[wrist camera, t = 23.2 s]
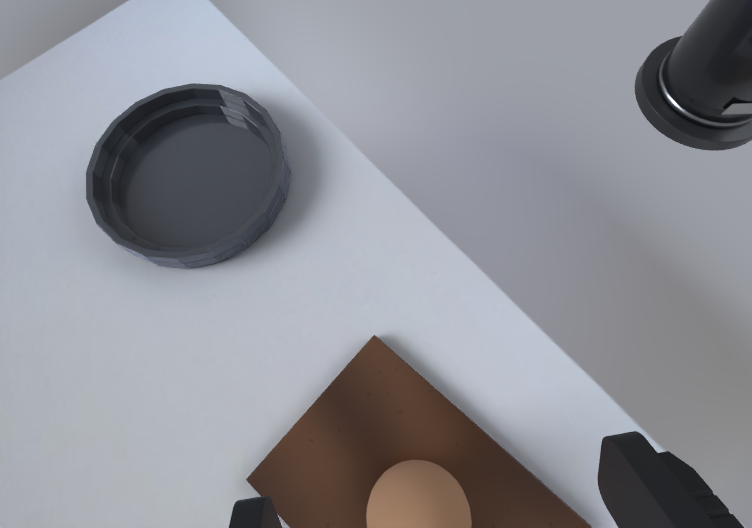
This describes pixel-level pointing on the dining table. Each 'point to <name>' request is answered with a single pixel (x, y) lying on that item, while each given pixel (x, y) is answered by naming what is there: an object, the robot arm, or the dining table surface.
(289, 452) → the board
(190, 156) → the pan
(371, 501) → the egg
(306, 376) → the dining table surface
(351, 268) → the dining table surface
